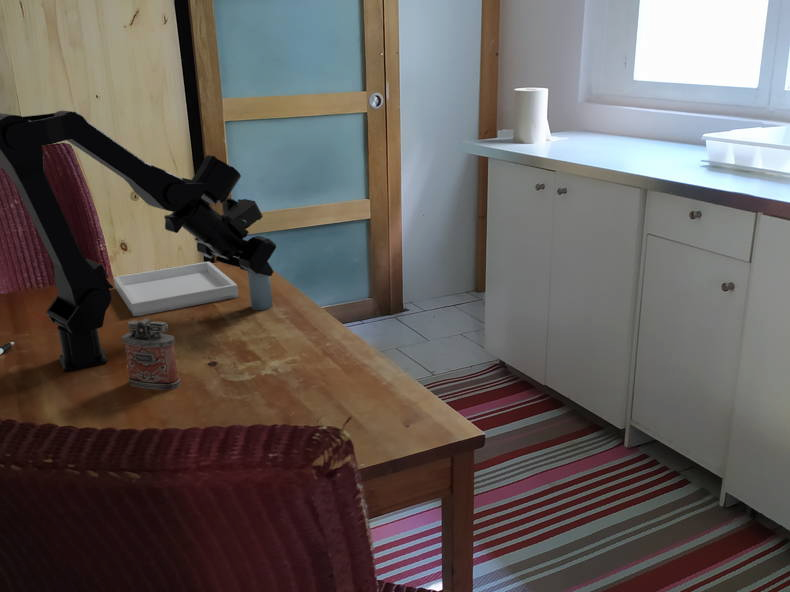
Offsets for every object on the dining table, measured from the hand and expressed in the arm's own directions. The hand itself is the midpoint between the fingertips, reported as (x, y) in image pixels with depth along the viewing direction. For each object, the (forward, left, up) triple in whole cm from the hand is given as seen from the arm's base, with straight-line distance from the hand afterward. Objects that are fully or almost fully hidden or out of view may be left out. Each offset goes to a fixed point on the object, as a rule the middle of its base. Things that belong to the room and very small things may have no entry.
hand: (265, 271), depth 142 cm
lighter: (-24, +26, -7) cm, 37 cm away
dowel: (0, +1, -7) cm, 7 cm away
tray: (+18, +13, -7) cm, 23 cm away
